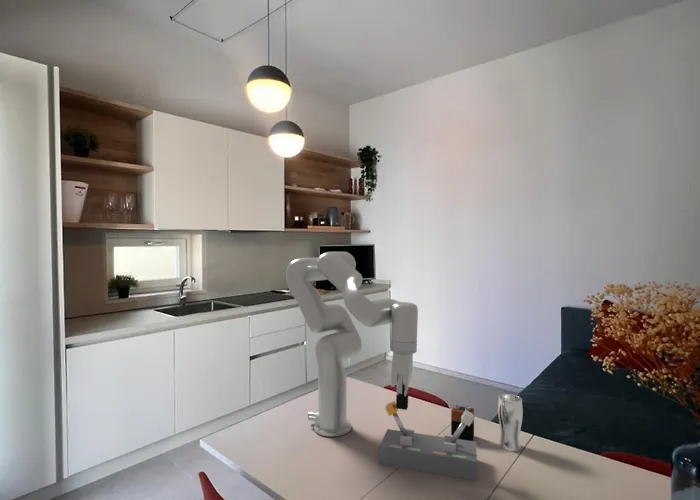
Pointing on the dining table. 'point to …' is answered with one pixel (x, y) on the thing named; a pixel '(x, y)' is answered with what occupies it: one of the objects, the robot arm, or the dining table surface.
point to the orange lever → (395, 416)
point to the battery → (456, 421)
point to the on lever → (462, 425)
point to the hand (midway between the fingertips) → (401, 408)
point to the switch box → (429, 454)
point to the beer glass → (510, 421)
